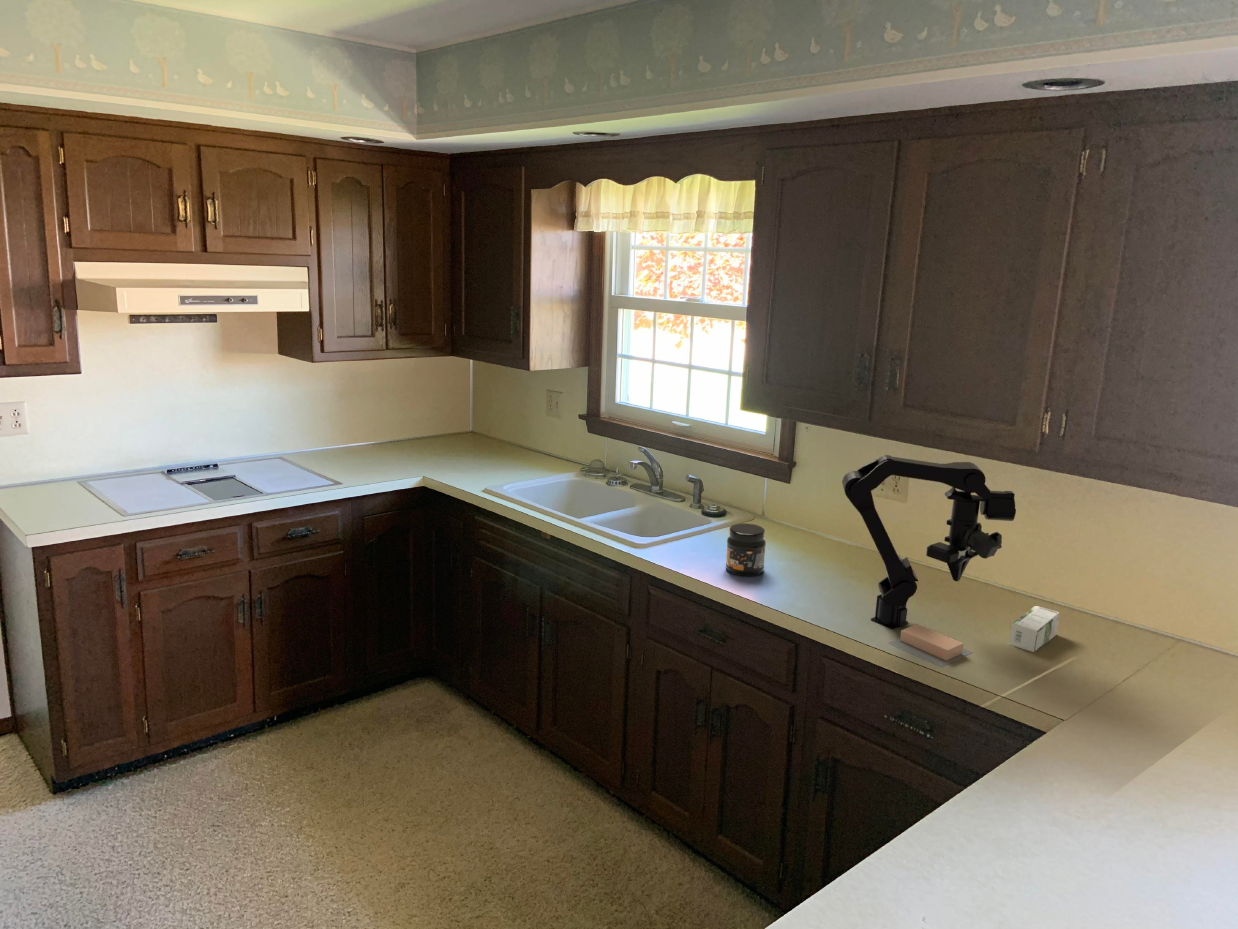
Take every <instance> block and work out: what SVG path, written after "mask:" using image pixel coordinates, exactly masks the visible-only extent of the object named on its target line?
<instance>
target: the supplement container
mask: <svg viewBox="0 0 1238 929" xmlns="http://www.w3.org/2000/svg"><path fill="white" fill-rule="evenodd" d="M728 530H729V532H728V534H729V536H728V537H727V538H726V543H727V545H726V556H725V558H726V560H725V567H726V569H727V571H728V572H730V573H732V574H733V575H737V576H743V577H753V576H757V575H760V574H762V572H764V569H765V559H766V558H765V555H766V546H767V540H766V539H765V536H766V535H765V534H766V530H765V528H763V527H762V526H761V525H758V524H754V523H742V522H741V523H735V524H732V525H730V526H729V529H728Z"/></svg>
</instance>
